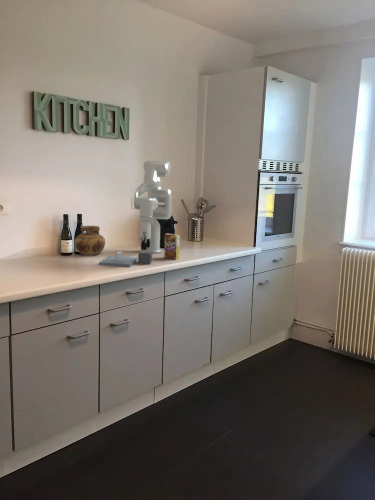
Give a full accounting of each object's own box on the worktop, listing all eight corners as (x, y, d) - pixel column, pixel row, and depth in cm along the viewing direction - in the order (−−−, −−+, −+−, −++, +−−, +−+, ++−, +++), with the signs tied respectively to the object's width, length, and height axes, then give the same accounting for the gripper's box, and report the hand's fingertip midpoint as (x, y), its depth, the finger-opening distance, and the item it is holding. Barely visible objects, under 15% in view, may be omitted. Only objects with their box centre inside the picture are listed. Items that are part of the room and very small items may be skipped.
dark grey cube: (140, 261, 262) (140, 250, 261) (152, 262, 261) (152, 251, 260) (138, 263, 255) (138, 252, 254) (149, 264, 255) (150, 253, 253)
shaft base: (109, 258, 268) (109, 248, 267) (137, 260, 266) (138, 250, 265) (98, 265, 248) (98, 254, 247) (130, 266, 246) (130, 256, 245)
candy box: (163, 258, 275) (164, 233, 272) (167, 256, 279) (168, 233, 276) (175, 259, 271) (176, 235, 268) (179, 258, 274) (180, 234, 272)
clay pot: (101, 253, 266) (89, 222, 264) (75, 262, 271) (63, 232, 269) (113, 248, 285) (102, 219, 282) (88, 256, 289) (77, 228, 287)
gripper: (142, 218, 262) (142, 246, 265) (136, 220, 245) (135, 250, 248) (155, 218, 262) (154, 246, 264) (149, 220, 245) (148, 251, 247)
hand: (145, 248), depth 256 cm, fingers open, 9 cm apart
